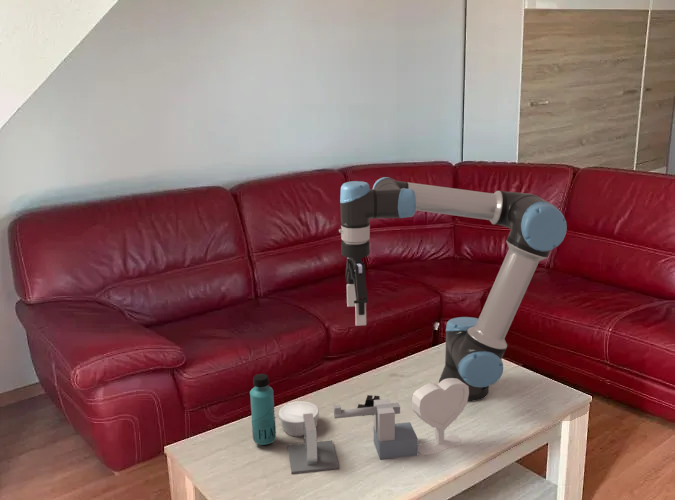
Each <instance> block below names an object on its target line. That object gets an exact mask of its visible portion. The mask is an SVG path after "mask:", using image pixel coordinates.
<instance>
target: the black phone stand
mask: <svg viewBox="0 0 675 500" xmlns="http://www.w3.org/2000/svg"><path fill="white" fill-rule="evenodd" d="M381 399H382V398H380V395H374V396H373V395H371V394H367V396H366V398H365V402H364V404H362V403H361V404H358V405H357V407H356V408H365V407H374V400H381Z"/></svg>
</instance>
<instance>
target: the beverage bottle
mask: <svg viewBox="0 0 675 500" xmlns="http://www.w3.org/2000/svg"><path fill="white" fill-rule="evenodd" d="M252 384H253V388H251V390H250V391H249V395H250V396H249V397H250V412H251V432H252V434H251V435H252V440H253V442H254V443H255V444H257V445H262V446H263V445H268V444H271V443H273V442H274V441H275V439H276V438H277V431H276V427H277V426H276V416H275V415H276V413H275V412H276V410H275V400H274V399H275V398H274V389H273V388H272V387H271V386H270V385H269V384H270V381H269V376H268V375H267V374H266V373H257V374H255V375H254V376H253V379H252Z"/></svg>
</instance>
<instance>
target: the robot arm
mask: <svg viewBox="0 0 675 500" xmlns="http://www.w3.org/2000/svg"><path fill="white" fill-rule="evenodd" d="M339 196H340V200H339V201H340V202H339V203H340V205H339V207H340V209H339V210H340V227H341V228H339V229H338V232H339V234H340V237H341V238H340V239H341V242H340V244H341V245H340V246H341V247H340V248H341V249H340V251H341V255H342V256H343V257H345V258H346V263H345V264H346V265H345V266H346V267H345V276H344V278H345V282H346V304H347V305H346V306H347V308H349V307H355V309H354V310H355V326H356V327H357V326H367V304H368V303H369V298H368V289H367V280H366V265H365V262H363V258H366V257H368V256H369V255H370V250H371V247H370V244H371V243H370V241H369V240H370V239H371V236H370V235H371V234H370V233H371V230H370V229H371V224H370V219H404V218H405V219H406V218H412V217H414V216H415V214H416V211H419V212H426V213H434V214H440V215H441V214H442V215H449V216H457V217H463V218H471V219H478V220H487V221H489V222H490V223H491V225H495V226H496V225H497V226H501V227H505V228H508V229H510V231H509V233H508V236H507V238H506V241H505V242H506V244H507V247H508V249H507V253H506V255H505V256H504V259H503V261H502V264H501V266H500V268H499V271H498V273H497V275H496V278H495V281H494V282H493V285H492V287H491V289H490V291H489V293H488V296H487V298H486V301H485V303H484V305H483V308H482V310H481V313H480V314H479V316H478V318H477V317H472V316H471V317H469V316H460V317H459V316H458V317H453V318H451V319H449V320H448V321H447V322H446V326H445V353H444V355H445V356H444V357H445V360H444V361H445V362H444V363H445V364H444V368H443V369H442V372H441V375H440V377H439V381H438V384H439V383H440V382H441V381H442V380H443V379H447V378H457V379H459V380H460V381H462V382H463V383H464V384H466V385H467V386H468V387H469V396H468V401H467V402H475V401H476V402H477V401H479V400H482V399H485V398H486V397H487V395H489V389H490V386H492V385H494V384H496V383H497V382H498V381H499V380H500V379H501V377H502V376H503V373H504V363H503V361H502V358H503V356H504V355H505V352H506V350H507V347H508V343H507V342H506V339H505V338H506V336H507V334H508V331H510V330H509V329H510V327H511V326H512V322H513V321H514V318H515V316H516V314H517V311H518V309H519V307H520V306H521V303H522V300H523V299H524V296H525V294H526V292H527V289H528V287H529V285H530V283H531V281H532V279H533V275H534V274H535V271H536V270H537V267H538V264H539V263H540V261H543V260H545V259H548V257H549V255H550V252H551V250H552V251H553V249H555V248H557V247H559V246H560V245H561V244H562V243H563V241H564V239H565V237H566V234H567V228H568V227H567V220H566V218H565V216H564V214H563V213H562V212H561V210H560V209H559V208H558V207H557V206H556V205H554V204H552V203H551V202H549V201H548V200H545V199H543V198H542V197H541V196H538V195H536V194H532V193H526V192H516V191H504V190H503V191H502V190H496V191H494V193H493V192H484V191H483V192H482V191H476V190H470V189H469V190H468V189H461V188H454V187H453V188H452V187H446V186H438V185H430V184H424V183H423V184H422V183H415V182H409V181H408V182H407V181H399V180H395V179H394V178H391V177H389V176H388V177H387V176H386V177H385V176H383V177H381V178H379V179H377V180H375V183H374V184H373V187H372V189H371V188H370V184H369V183H368V182H365V181H362V180H361V181H359V180H355V181H354V180H353V181H347V182H344V183H342V185H341V187H340V195H339Z"/></svg>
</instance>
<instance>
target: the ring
mask: <svg viewBox="0 0 675 500" xmlns="http://www.w3.org/2000/svg"><path fill="white" fill-rule="evenodd" d="M303 426H304V436H303V443H304V448H305V454H306V459H307V465H315V464H317V442H318V441H317V426H315V422H314V417H313V413H310V414H303Z"/></svg>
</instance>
